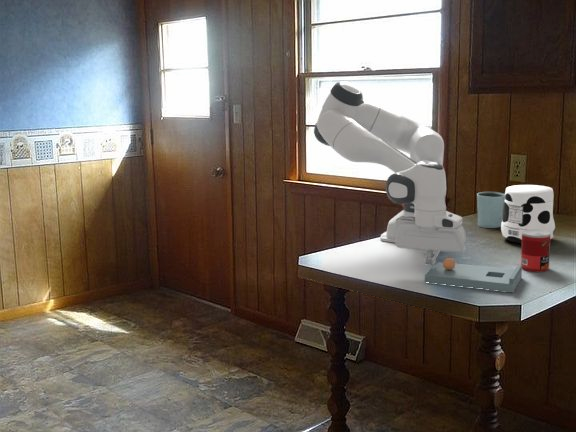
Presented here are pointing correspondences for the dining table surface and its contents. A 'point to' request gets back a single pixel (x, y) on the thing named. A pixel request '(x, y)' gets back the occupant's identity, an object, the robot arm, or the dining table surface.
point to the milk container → (527, 211)
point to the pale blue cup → (490, 209)
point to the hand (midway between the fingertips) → (429, 264)
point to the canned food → (535, 250)
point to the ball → (448, 263)
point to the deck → (476, 276)
